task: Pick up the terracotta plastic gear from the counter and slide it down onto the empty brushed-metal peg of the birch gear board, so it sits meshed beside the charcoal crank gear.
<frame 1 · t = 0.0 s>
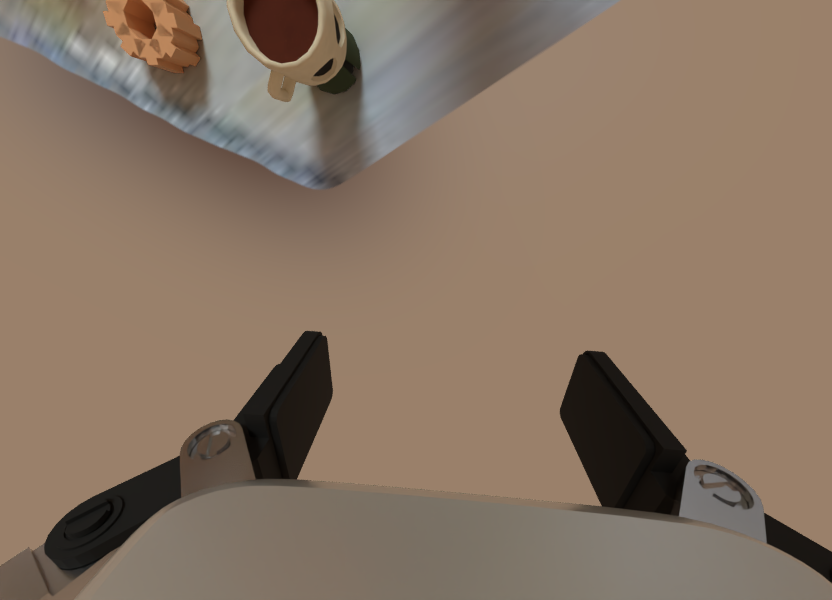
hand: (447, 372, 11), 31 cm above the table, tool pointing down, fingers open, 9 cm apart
loose gear: (168, 32, 32), on the table
character mug: (333, 61, 33), on the table
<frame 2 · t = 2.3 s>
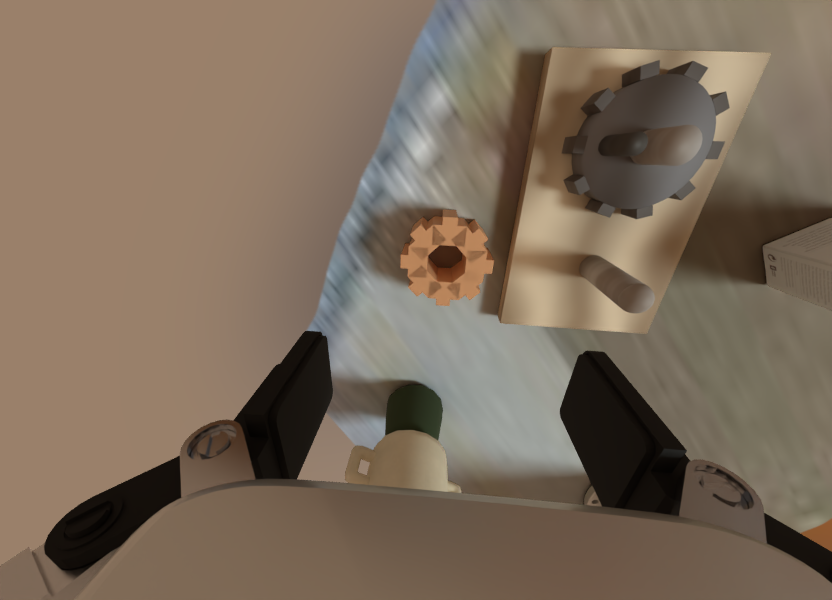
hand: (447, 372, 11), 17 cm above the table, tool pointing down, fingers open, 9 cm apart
skincare box: (803, 248, 24), on the table
gear board: (598, 212, 24), on the table
loose gear: (445, 251, 26), on the table
character mug: (415, 400, 35), on the table
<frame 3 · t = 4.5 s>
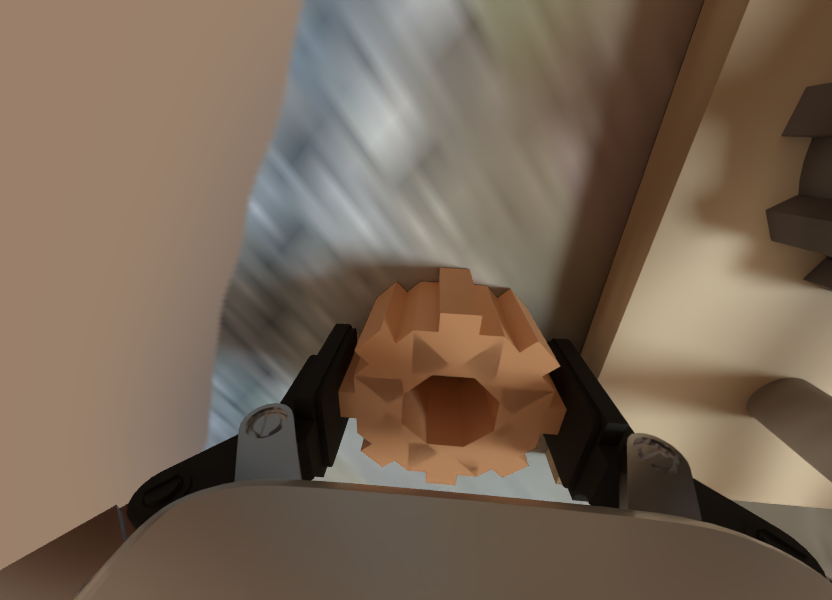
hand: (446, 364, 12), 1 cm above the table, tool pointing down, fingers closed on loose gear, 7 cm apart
gear board: (803, 278, 10), on the table
loose gear: (446, 348, 13), on the table, touching gripper
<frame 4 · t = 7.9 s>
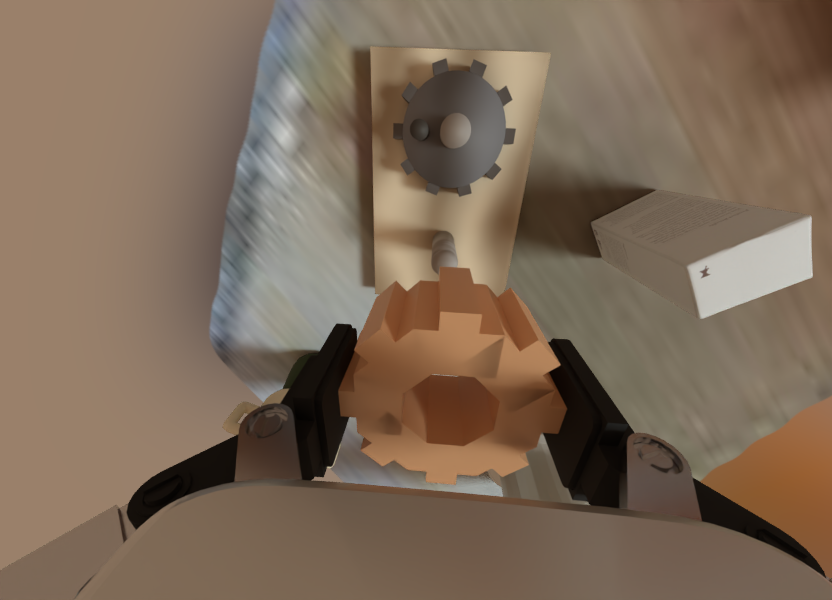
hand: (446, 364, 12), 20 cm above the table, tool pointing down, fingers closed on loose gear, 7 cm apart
skincare box: (627, 225, 28), on the table
gear board: (446, 193, 27), on the table
loose gear: (446, 347, 13), point 18 cm above the table, touching gripper
character mug: (321, 369, 38), on the table
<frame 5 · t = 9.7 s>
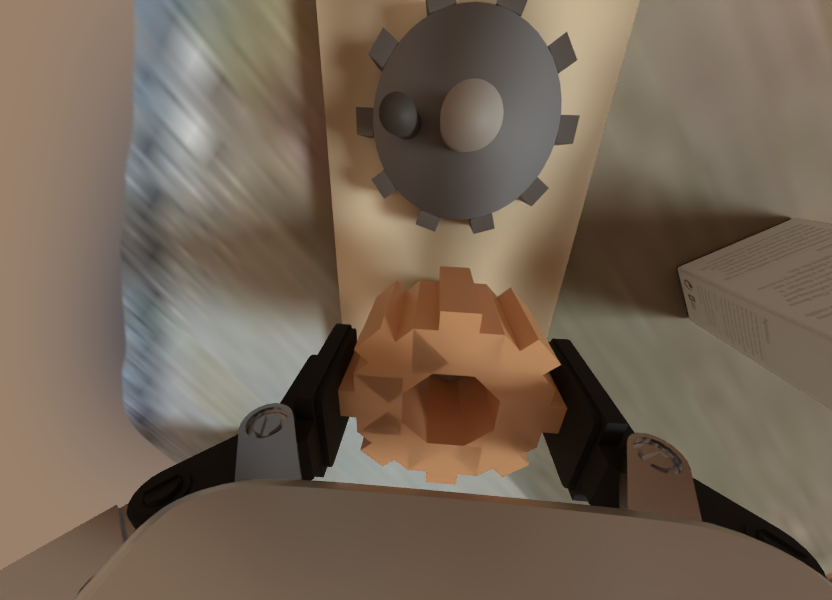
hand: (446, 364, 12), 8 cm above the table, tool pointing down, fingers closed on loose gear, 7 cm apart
skincare box: (734, 271, 18), on the table
gear board: (451, 222, 17), on the table
loose gear: (446, 347, 13), point 7 cm above the table, touching gripper
when the fingers open (3 cm above the table, at t = 11.2 s): loose gear stays where it is, resting on gear board.
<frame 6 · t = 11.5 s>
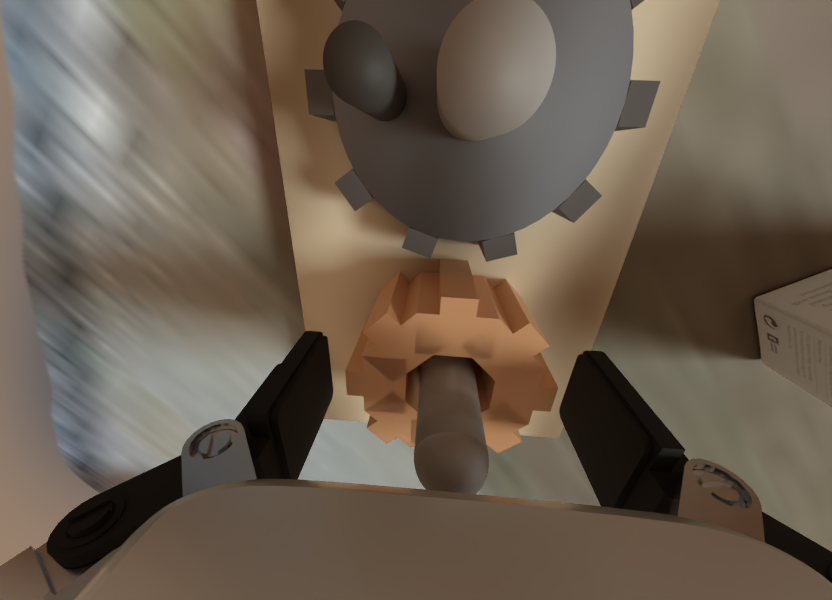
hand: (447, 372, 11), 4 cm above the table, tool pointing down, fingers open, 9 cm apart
skincare box: (828, 302, 13), on the table
gear board: (452, 237, 13), on the table
loose gear: (446, 335, 13), point 1 cm above the table, touching gear board
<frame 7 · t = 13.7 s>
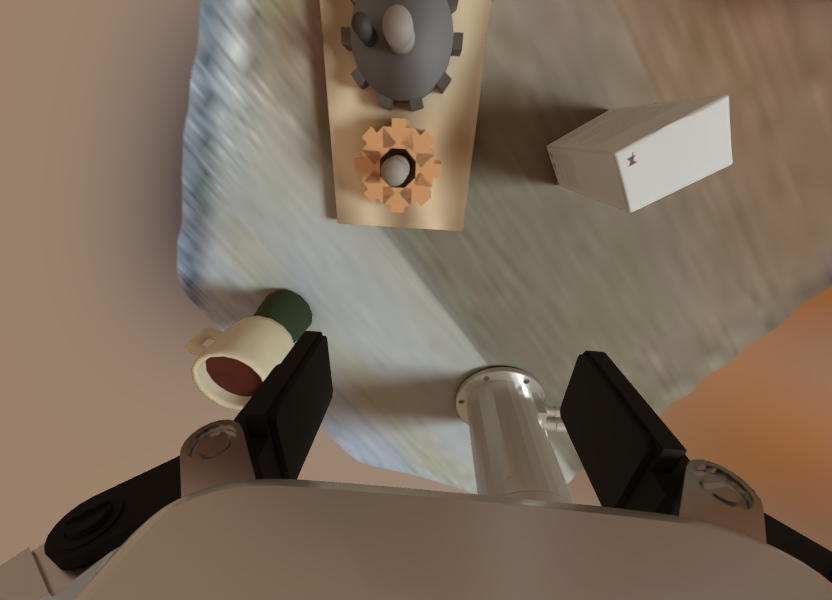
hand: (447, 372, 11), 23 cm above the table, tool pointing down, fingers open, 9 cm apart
skincare box: (582, 149, 28), on the table
gear board: (403, 114, 27), on the table
loose gear: (401, 164, 28), point 1 cm above the table, touching gear board
character mug: (291, 309, 38), on the table
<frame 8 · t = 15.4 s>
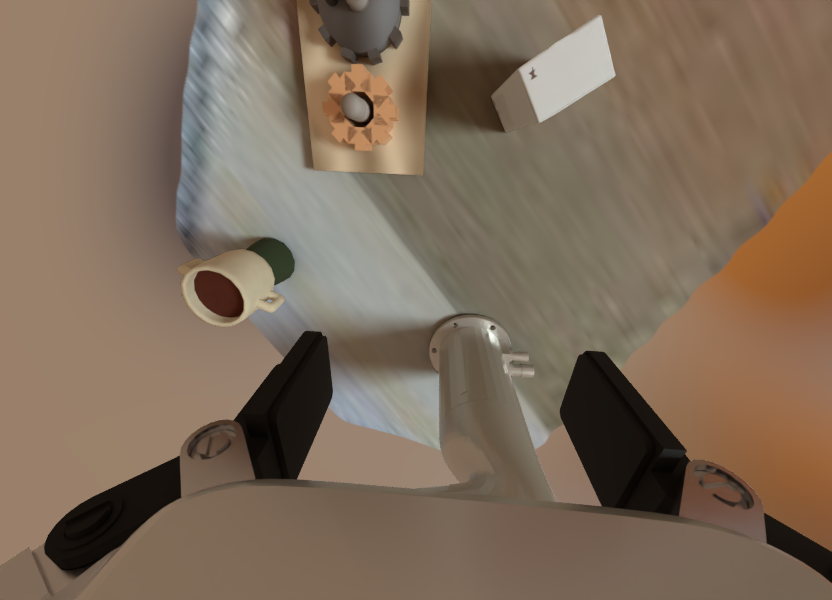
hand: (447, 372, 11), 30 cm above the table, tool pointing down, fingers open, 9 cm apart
skincare box: (523, 99, 32), on the table
gear board: (367, 70, 32), on the table
loose gear: (366, 113, 33), point 1 cm above the table, touching gear board
character mug: (276, 258, 43), on the table
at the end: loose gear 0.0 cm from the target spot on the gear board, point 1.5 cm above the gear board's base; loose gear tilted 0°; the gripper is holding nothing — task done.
